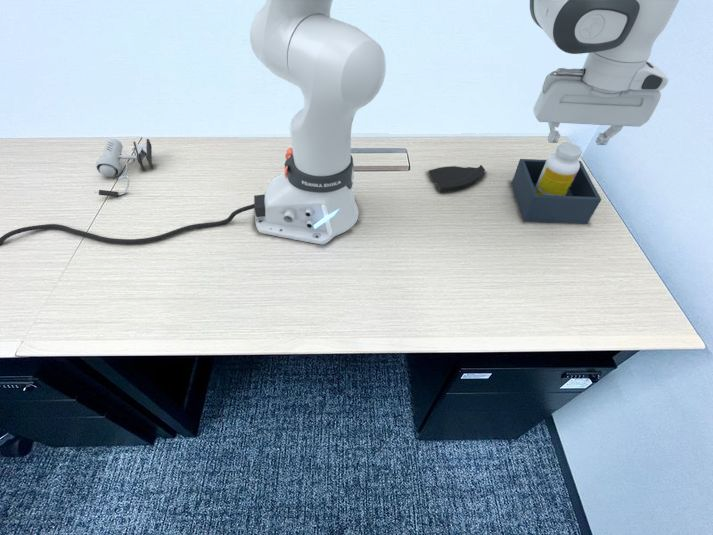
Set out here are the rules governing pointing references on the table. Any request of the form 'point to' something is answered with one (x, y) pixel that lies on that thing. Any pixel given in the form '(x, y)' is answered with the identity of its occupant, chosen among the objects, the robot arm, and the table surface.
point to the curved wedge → (455, 177)
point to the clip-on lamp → (111, 164)
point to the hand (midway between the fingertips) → (576, 142)
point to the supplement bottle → (559, 170)
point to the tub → (554, 208)
